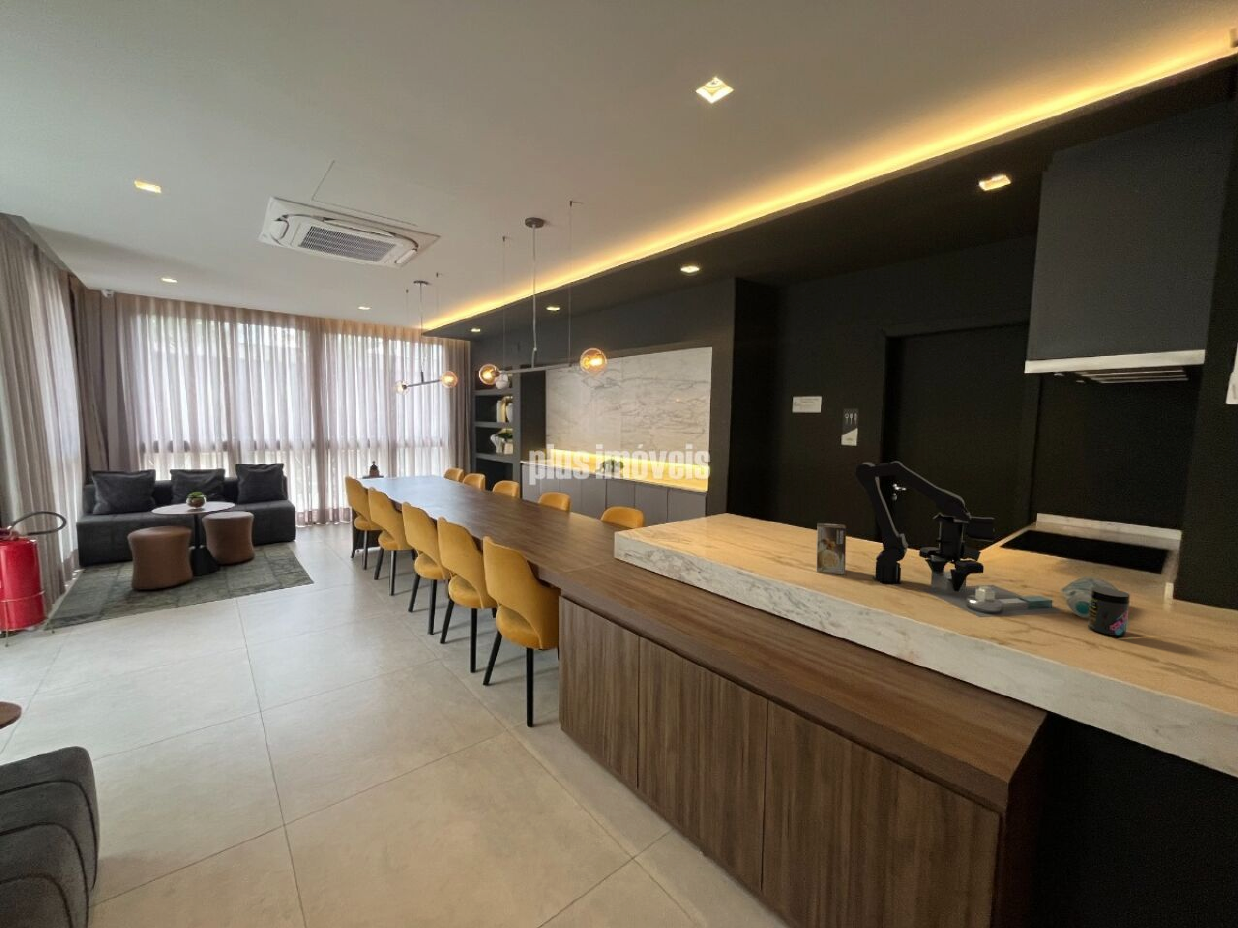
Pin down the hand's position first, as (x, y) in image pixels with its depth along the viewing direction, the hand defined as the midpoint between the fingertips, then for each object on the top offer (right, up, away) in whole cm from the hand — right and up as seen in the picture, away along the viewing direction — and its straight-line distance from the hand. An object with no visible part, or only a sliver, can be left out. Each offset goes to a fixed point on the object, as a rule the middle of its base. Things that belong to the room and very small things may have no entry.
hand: (948, 587), depth 148 cm
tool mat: (+6, -2, -7) cm, 10 cm away
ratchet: (+8, -2, -13) cm, 15 cm away
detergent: (+29, -3, -14) cm, 32 cm away
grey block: (0, -1, 0) cm, 1 cm away
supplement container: (+19, -4, -29) cm, 35 cm away
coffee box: (-27, 0, +21) cm, 34 cm away
